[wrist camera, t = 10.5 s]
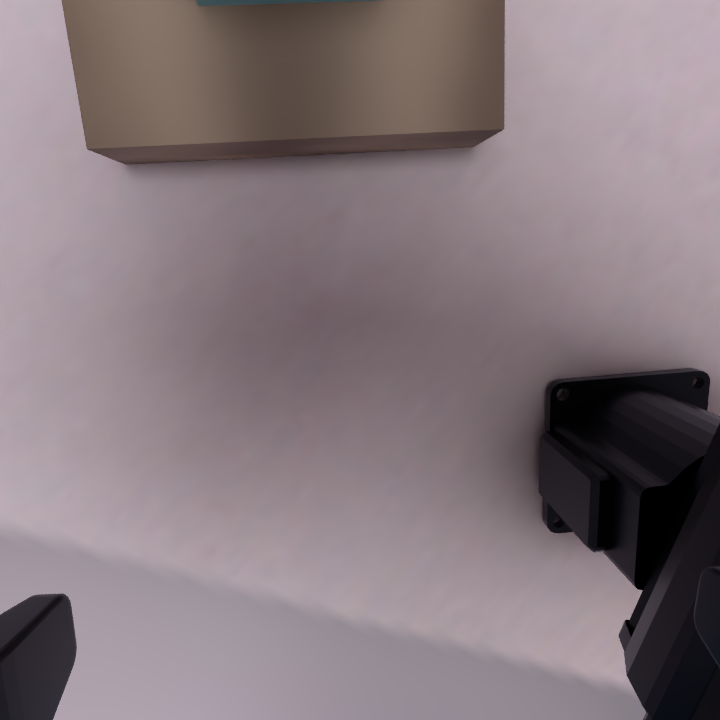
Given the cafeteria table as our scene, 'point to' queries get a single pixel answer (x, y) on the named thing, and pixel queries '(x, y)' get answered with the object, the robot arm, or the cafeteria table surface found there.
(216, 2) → the teal cube
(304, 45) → the walnut base
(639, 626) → the robot arm
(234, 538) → the cafeteria table surface
